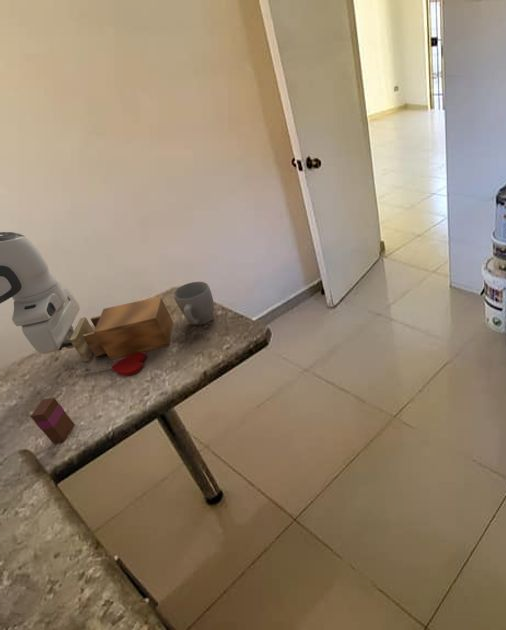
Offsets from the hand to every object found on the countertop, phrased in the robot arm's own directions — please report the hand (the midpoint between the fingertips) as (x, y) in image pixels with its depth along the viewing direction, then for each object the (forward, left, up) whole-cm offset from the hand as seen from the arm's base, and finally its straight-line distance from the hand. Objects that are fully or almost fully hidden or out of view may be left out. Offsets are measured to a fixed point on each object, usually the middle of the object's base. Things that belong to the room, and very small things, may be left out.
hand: (72, 344), depth 108 cm
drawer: (+6, 0, -3) cm, 7 cm away
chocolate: (+4, -29, -4) cm, 29 cm away
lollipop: (+9, -10, -4) cm, 14 cm away
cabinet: (+15, 0, -4) cm, 15 cm away
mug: (+29, +2, -4) cm, 29 cm away
